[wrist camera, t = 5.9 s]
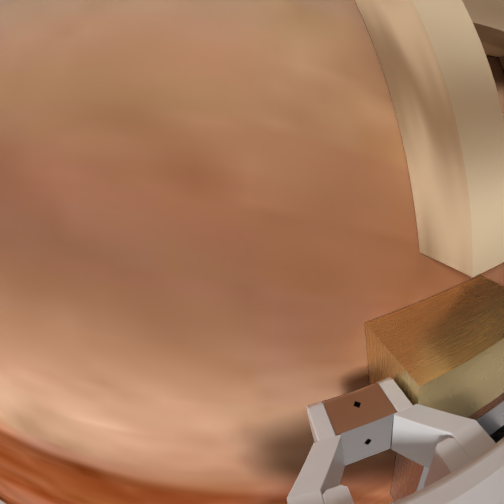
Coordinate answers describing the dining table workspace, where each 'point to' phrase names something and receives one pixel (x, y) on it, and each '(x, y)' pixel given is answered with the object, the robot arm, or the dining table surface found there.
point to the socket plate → (414, 475)
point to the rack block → (448, 120)
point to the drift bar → (444, 348)
